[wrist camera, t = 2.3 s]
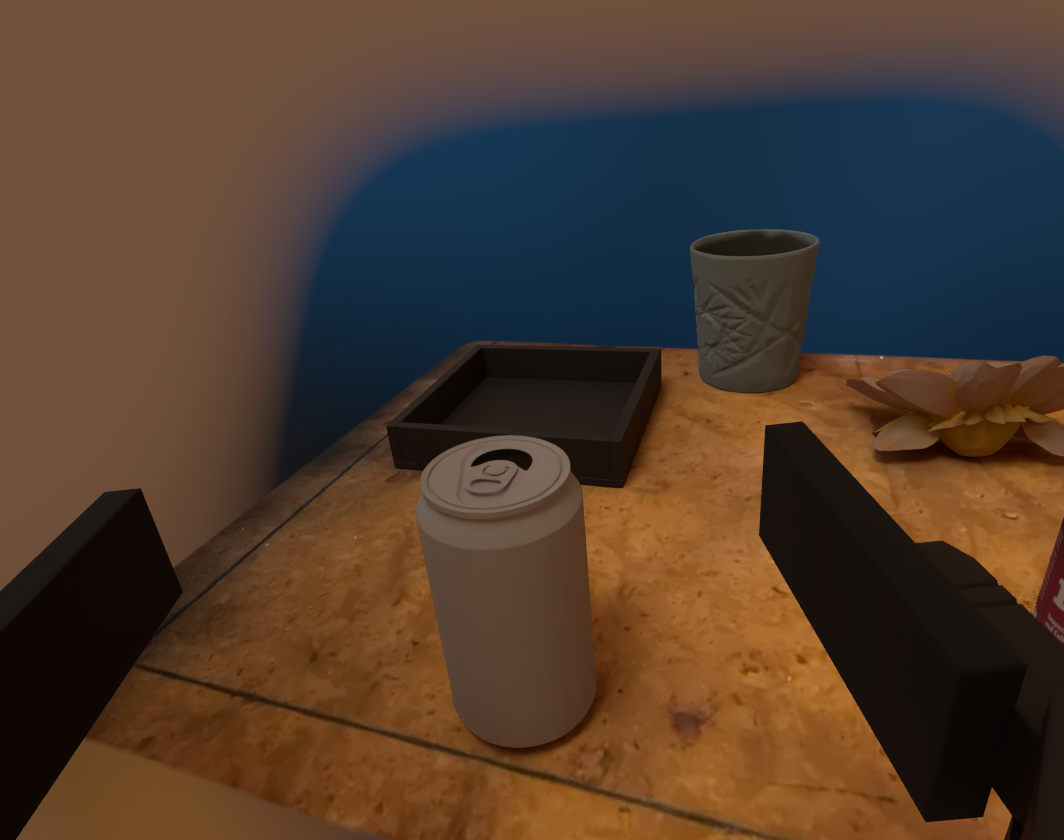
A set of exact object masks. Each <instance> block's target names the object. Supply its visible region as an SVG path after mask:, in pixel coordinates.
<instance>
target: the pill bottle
mask: <svg viewBox="0 0 1064 840" xmlns="http://www.w3.org/2000/svg"><path fill="white" fill-rule="evenodd" d="M1033 616H1034V617H1035V618H1036V619H1037V620H1038V621H1039V622H1040V623H1041V624H1042V625H1043V626H1044V627H1045V628H1046V629H1047V630H1048V631H1049V632H1050V633H1052V634H1053V635H1054V636H1055V637H1056V638H1057V639H1058V640H1059V641H1060V642H1061V643H1062V644H1063V645H1064V518H1063V521H1062V525H1061V528H1060V530H1059V534H1058V537H1057V540H1056V543H1055V546H1054V549H1053V552H1052V555H1051V557H1050V562H1049V565H1048V567H1047V571H1046V574H1045V577H1044V580H1043V583H1042V587H1041V590H1040V593H1039V596H1038V599H1037V602H1036V606H1035V609H1034V612H1033Z"/></svg>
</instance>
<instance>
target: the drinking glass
mask: <svg viewBox="0 0 1064 840" xmlns="http://www.w3.org/2000/svg"><path fill="white" fill-rule="evenodd" d="M818 247H819V239H818V238H817V237H815V236H813V235H811V234H808V233H804V232H799V231H791V230H777V229H753V230H752V229H751V230H738V231H731V232H724V233H719V234H715V235H710V236H706V237H703V238H700V239H698V240H696V241H695V242H693V243H692V244H691V247H690V253H691V262H692V271H693V282H694V285H695V287H696V288H695V291H694V292H695V304H696V305H695V313H696V314H697V317H696V323H697V335H698V339H697V342H698V351H699V353H698V359H699V372H700V375H701V378H702V379H703V380H704V381H705V382H706V383H707V384H709V385H711V386H713V387H716V388H719V389H723V390H727V391H733V392H744V393H757V392H768V391H774V390H778V389H782V388H785V387H787V386H789V385H790V384H792V383H793V382H794V381H796V378H797V376H798V372H799V365H800V359H801V349H800V345H801V344H802V342H803V335H804V333H805V322H806V318H807V313H808V302H809V298H810V289H811V285H812V277H813V273H814V269H815V263H816V257H817V253H818Z"/></svg>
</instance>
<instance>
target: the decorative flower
mask: <svg viewBox="0 0 1064 840" xmlns="http://www.w3.org/2000/svg"><path fill="white" fill-rule="evenodd" d="M1060 365H1061V362H1060V361H1059V359H1058V358H1057V357H1051V356H1040V357H1036V358H1032V359H1030V360H1027V361H1024V362H1022V363H1017V364H1011V363H1001V362H990V363H985V362H976V361H970V362H968V363H965V364H963V365H961V366H960V367H958V368H957V369H955V370H954V371H953V373H952V374H951V375H947V376H946V375H944V374H941V373H935V372H929V371H924V370H910V369H901V370H890V371H887V372H886V374H885V376H886V378H883V379H878V378H873V377H868V376H866V377H861V378H860V379H861V380H862V381H858V380H847V384H846V385H847V386H849V387H851V388H853V389H855V390H857V391H858V392H860V393H862V394H863V395H865V396H867V397H868V398H871V399H873V400H875V401H877V402H879V403H882V404H885V405H888V406H891V407H895V408H899V409H903V410H908V411H905V413H907V415H904V416H902V417H900V418H898V419H895V420H893V421H891V422H890V423H888V424H886V425H884V426H883V427H882V428H880V429H878V430H876V431H875V432H873V433H872V434H873V435H874V436H875V437H876V438H875V439H874V441H873V445H872V446H873V447H874V448H875V449H877V450H879V451H895V450H909V449H924V448H927V447H929V446H931V445H933V444H934V443H935V442H936V441H937V440H938V439H940V440H941V441H942V442H943V443H944V444H945V445H946V446H947V447H948V448H950V449H951V450H953V451H954V452H956V453H957V454H958V455H963V456H970V457H980V456H987V455H991V454H993V453H994V452H996V451H998V450H999V449H1001V448H1002V447H1003V446H1004V445H1005V444H1006V443H1007V442H1008V441H1009V440H1010V439H1011V438H1012V437H1013V436H1015V437H1018V438H1022V439H1025V440H1029V441H1034V442H1035V443H1036V444H1038V445H1039V446H1041V447H1042V448H1044V449H1045V450H1047V451H1049V452H1050V453H1052V454H1055V455H1060V456H1064V426H1063V425H1061V424H1060V423H1058V422H1056V421H1054V420H1056V419H1053V418H1051V417H1048V416H1046V415H1045V414H1049V413H1052V412H1056V411H1059V410H1063V409H1064V367H1059V366H1060ZM1058 367H1059V368H1058ZM863 381H864V382H863Z"/></svg>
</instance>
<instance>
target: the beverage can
mask: <svg viewBox="0 0 1064 840" xmlns="http://www.w3.org/2000/svg"><path fill="white" fill-rule="evenodd" d="M420 486H421V491H422V494H421V496H420V498H419V500H418V503H417V506H416V519H417V524H418V529H419V534H420V539H421V543H422V548H423V553H424V558H425V563H426V568H427V573H428V578H429V583H430V588H431V593H432V597H433V602H434V607H435V612H436V617H437V622H438V627H439V632H440V637H441V642H442V646H443V651H444V656H445V661H446V666H447V671H448V676H449V681H450V686H451V691H452V696H453V700H454V705H455V708H456V711H457V714H458V716H459V718H460V719H461V721H462V722H463V723H464V725H465V726H466V727H467V728H468V729H469V730H470V731H471V732H472V733H473V734H475V735H476V736H477V737H479V738H481V739H482V740H485V741H487V742H489V743H492V744H495V745H498V746H502V747H510V748H527V747H534V746H538V745H542V744H546V743H549V742H551V741H554V740H556V739H558V738H560V737H562V736H563V735H565V734H567V733H568V732H569V731H571V730H572V729H573V728H574V727H576V726H577V725H578V724H579V723H580V722H581V720H582V719H583V718H584V717H585V715H586V714H587V712H588V711H589V709H590V707H591V704H592V702H593V699H594V696H595V691H596V674H595V660H594V646H593V633H592V619H591V605H590V591H589V577H588V563H587V550H586V536H585V522H584V508H583V494H582V488H581V485H580V483H579V481H578V480H577V479H576V477H575V476H574V475H573V474H572V473H571V469H570V461H569V458H568V456H567V455H566V453H565V452H564V451H563V450H562V449H560V448H559V447H558V446H556V445H554V444H552V443H550V442H547V441H545V440H542V439H538V438H533V437H527V436H514V435H506V436H493V437H486V438H481V439H476V440H472V441H469V442H466V443H463V444H460V445H457V446H455V447H453V448H450V449H448V450H447V451H445V452H443V453H441V454H440V455H438V456H437V457H436V458H434V459H433V460H432V461H431V462H430V463H429V464H428V465H427V466H426V468H425V469H424V471H423V473H422V475H421V479H420Z"/></svg>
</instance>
